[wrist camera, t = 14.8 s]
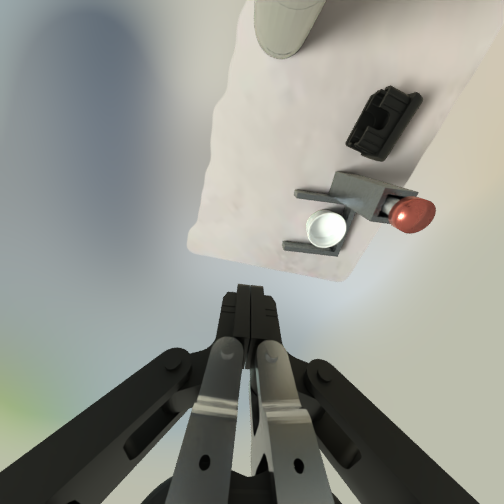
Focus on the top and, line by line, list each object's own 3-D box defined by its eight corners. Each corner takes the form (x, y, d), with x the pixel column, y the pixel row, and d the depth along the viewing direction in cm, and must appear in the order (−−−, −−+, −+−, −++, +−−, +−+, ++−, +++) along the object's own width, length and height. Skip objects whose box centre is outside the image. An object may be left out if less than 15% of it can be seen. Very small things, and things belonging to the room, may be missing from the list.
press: (300, 166, 42) (330, 179, 26) (362, 175, 43) (426, 193, 27) (282, 244, 51) (295, 289, 36) (333, 250, 52) (368, 296, 37)
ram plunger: (362, 182, 33) (409, 197, 23) (387, 185, 33) (443, 202, 24) (352, 207, 35) (391, 231, 25) (375, 210, 35) (423, 235, 26)
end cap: (370, 160, 42) (390, 163, 36) (342, 147, 41) (358, 147, 35) (403, 107, 37) (432, 100, 31) (373, 90, 36) (397, 79, 30)
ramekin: (298, 236, 51) (302, 244, 47) (311, 203, 46) (316, 208, 43) (330, 243, 51) (336, 251, 48) (345, 211, 47) (353, 217, 43)
